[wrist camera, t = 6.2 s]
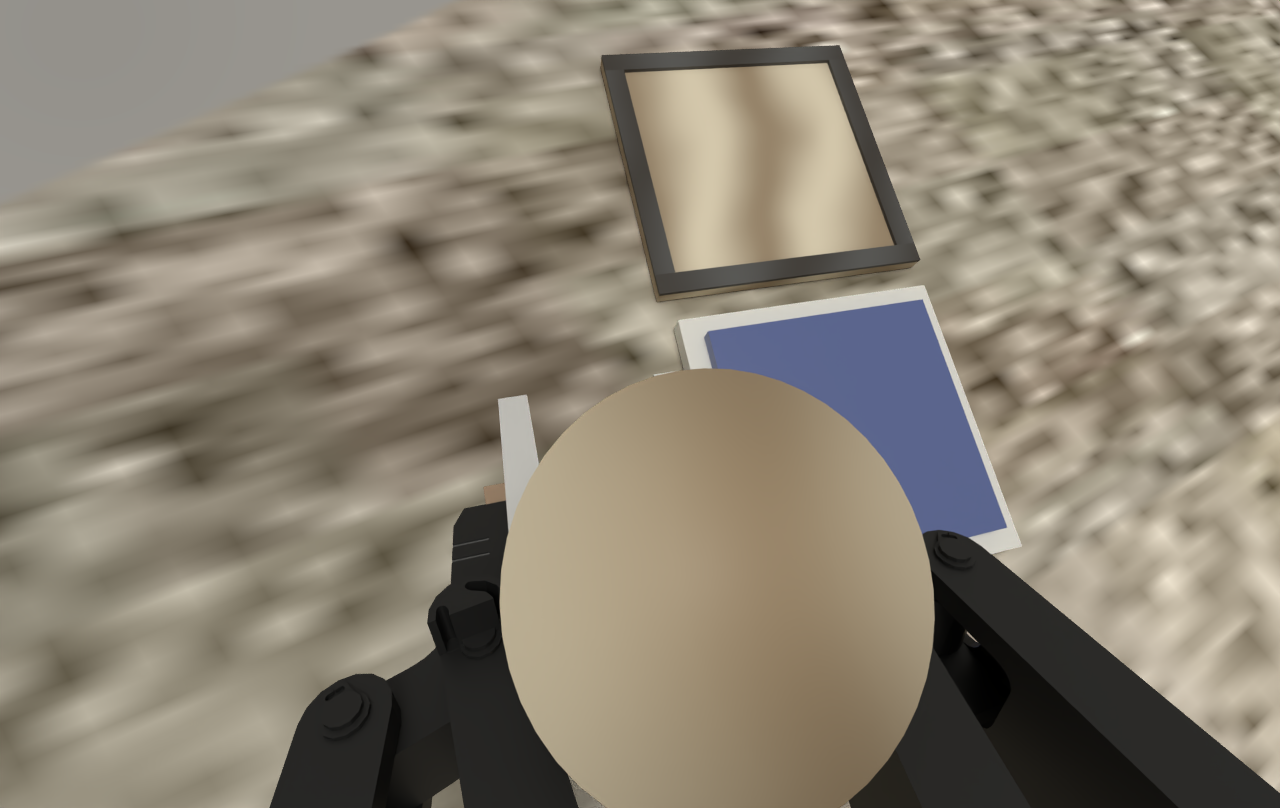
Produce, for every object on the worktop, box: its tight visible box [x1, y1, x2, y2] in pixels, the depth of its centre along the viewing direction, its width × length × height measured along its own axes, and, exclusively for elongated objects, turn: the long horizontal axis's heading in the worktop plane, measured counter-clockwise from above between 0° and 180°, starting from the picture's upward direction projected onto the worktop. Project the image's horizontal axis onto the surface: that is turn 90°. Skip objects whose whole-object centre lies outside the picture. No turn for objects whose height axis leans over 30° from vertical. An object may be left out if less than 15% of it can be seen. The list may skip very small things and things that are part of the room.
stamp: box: [484, 368, 935, 808], centre depth 13 cm, size 7×6×14 cm
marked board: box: [601, 45, 920, 302], centre depth 28 cm, size 14×14×1 cm
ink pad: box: [674, 285, 1022, 554], centre depth 24 cm, size 13×13×2 cm
